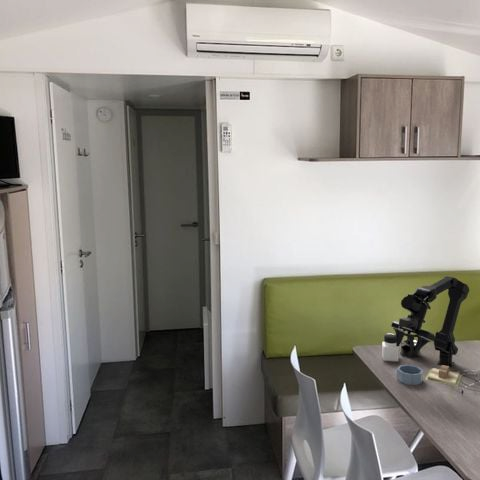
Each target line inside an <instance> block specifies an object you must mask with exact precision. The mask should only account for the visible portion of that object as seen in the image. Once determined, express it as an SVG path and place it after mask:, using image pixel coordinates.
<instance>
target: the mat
mask: <svg viewBox="0 0 480 480" xmlns="http://www.w3.org/2000/svg"><path fill="white" fill-rule="evenodd" d="M432 369H433V368H430V370H429V372H428V374H427V375H426V376H425V378H424V380H425V381H429V382H434V383H438V384H445V385H448V386H452V387H453V386H454V387H458V386H459V383H460V381H461V378H462V376H463V374H460V373H459V377H458V380H457V382H456V384H455V385H453V384H448V383H444V382H439V381H434V380H429V379H428V376H429V374H430V372H431V371H432Z"/></svg>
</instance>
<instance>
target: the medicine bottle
mask: <svg viewBox="0 0 480 480" xmlns="http://www.w3.org/2000/svg"><path fill="white" fill-rule="evenodd" d="M383 340H384V341H382V343H381V356H382V359H383V361H385V362H399V361H400V346H399V347H398V346H396V333H395V334H394V333H386V334H384V336H383Z"/></svg>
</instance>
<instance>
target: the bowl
mask: <svg viewBox="0 0 480 480" xmlns="http://www.w3.org/2000/svg"><path fill="white" fill-rule="evenodd" d="M396 379H397V381H398V382H400V383H402V384H404V385H407V386H408V385H409V386H418V385H420V384H423V380H424V369H423V368H421V367H419V366H417V365H412V364H402V365H399V366H398V367H397V369H396Z"/></svg>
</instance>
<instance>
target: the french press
mask: <svg viewBox="0 0 480 480" xmlns="http://www.w3.org/2000/svg"><path fill="white" fill-rule="evenodd" d="M407 312H410V311H408V310H407ZM410 313H411V312H410ZM414 331H416V330H414ZM403 332H404V333H405V335H404V337H406V338H407V339H402V341H401V343H400V351H399V355H400V356H401V357H406V358H413V359H417V358H420V357H421V349H420V350H419V351H418V352H417V353H414V350H415V347H416V344H417V341H418V340H416V339H415V338H418V337H417V336H420V335H418V334H415V333H414V334H412V332H409V331H406V332H405V331H403ZM420 337H421V336H420Z"/></svg>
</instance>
